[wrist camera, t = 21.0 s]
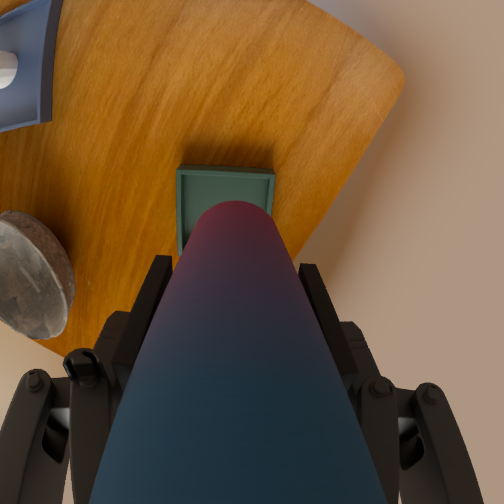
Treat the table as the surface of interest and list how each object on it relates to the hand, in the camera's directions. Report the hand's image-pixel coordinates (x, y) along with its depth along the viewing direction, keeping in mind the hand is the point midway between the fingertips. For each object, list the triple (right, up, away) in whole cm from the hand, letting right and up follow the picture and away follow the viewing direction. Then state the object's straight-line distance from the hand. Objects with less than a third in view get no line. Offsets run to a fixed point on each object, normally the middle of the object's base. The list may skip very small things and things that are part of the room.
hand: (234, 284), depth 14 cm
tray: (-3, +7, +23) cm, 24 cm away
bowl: (-33, +2, +25) cm, 41 cm away
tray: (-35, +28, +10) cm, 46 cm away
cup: (0, +2, +3) cm, 4 cm away
